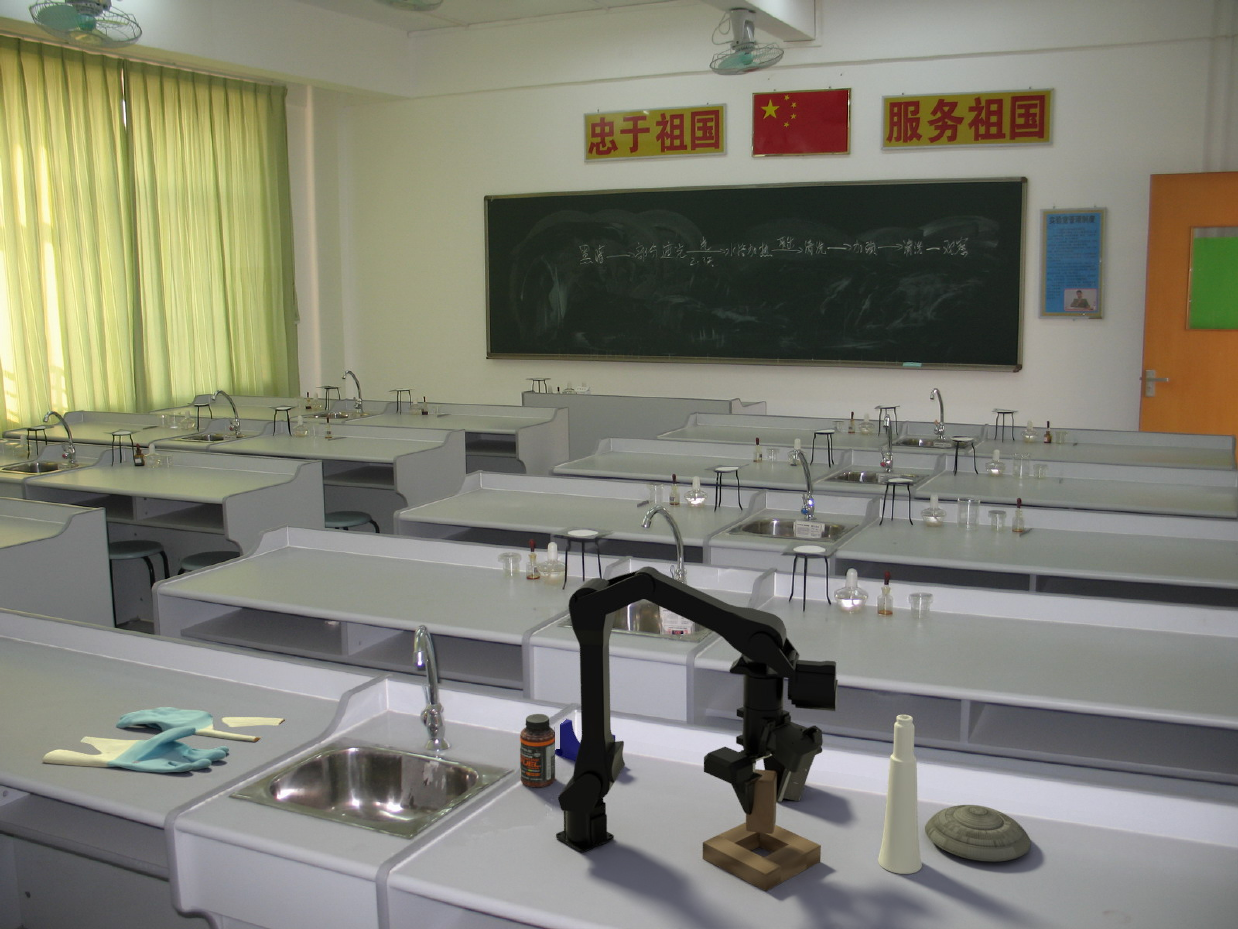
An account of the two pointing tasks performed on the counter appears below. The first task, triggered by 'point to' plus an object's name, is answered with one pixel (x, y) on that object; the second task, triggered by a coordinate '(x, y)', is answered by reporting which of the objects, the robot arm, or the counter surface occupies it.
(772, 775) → the wooden block
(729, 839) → the socket collar
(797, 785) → the electrical switch
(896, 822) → the cosmetic bottle
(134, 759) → the rubber gloves
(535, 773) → the supplement bottle
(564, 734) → the cable clip
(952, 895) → the counter surface
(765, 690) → the robot arm
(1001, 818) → the flying saucer
